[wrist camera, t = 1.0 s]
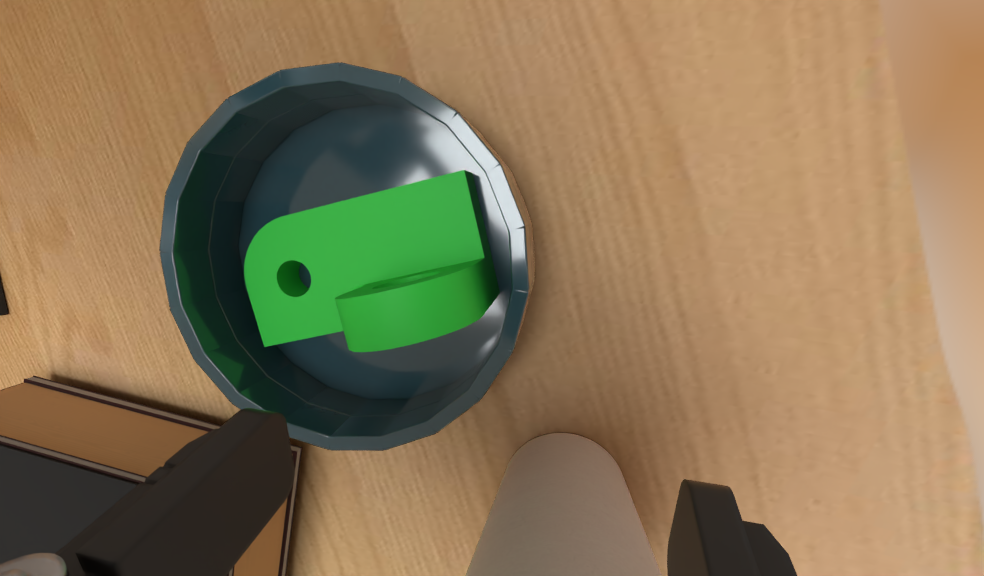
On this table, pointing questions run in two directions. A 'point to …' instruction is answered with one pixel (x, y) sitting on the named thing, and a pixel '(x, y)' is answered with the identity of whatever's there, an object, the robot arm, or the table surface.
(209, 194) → the pot
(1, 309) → the mat
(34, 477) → the miniature tv stand
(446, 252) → the mechanical part
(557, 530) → the coffee cup
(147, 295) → the table surface
